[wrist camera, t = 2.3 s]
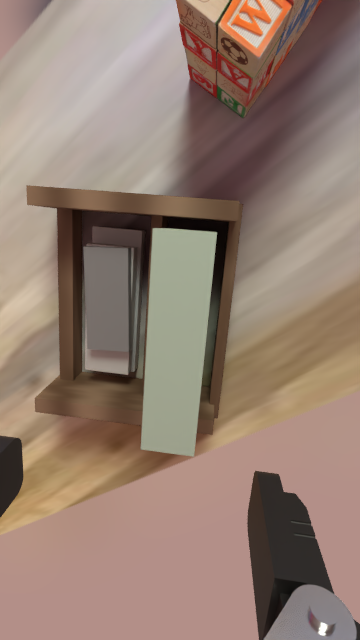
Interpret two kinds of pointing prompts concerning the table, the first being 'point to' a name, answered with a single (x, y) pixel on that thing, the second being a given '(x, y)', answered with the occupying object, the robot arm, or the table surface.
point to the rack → (125, 392)
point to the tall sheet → (176, 337)
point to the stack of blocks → (240, 43)
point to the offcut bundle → (113, 299)
